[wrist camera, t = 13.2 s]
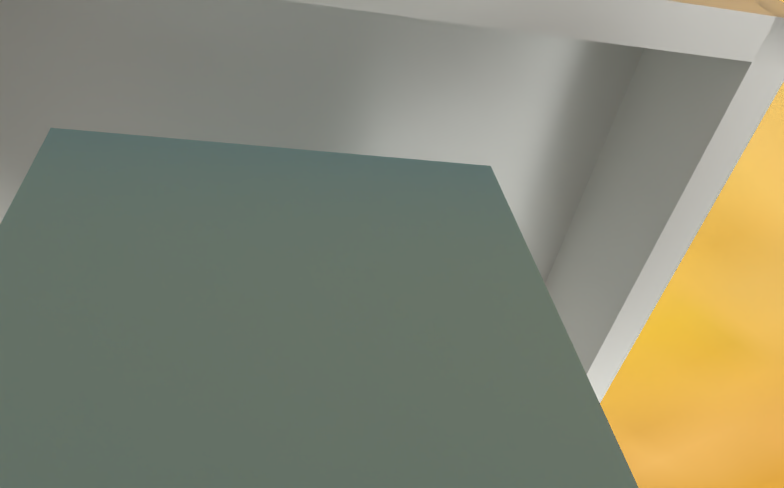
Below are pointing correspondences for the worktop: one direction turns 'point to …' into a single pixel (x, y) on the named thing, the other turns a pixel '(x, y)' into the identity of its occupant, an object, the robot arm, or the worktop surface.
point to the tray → (438, 110)
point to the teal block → (280, 326)
